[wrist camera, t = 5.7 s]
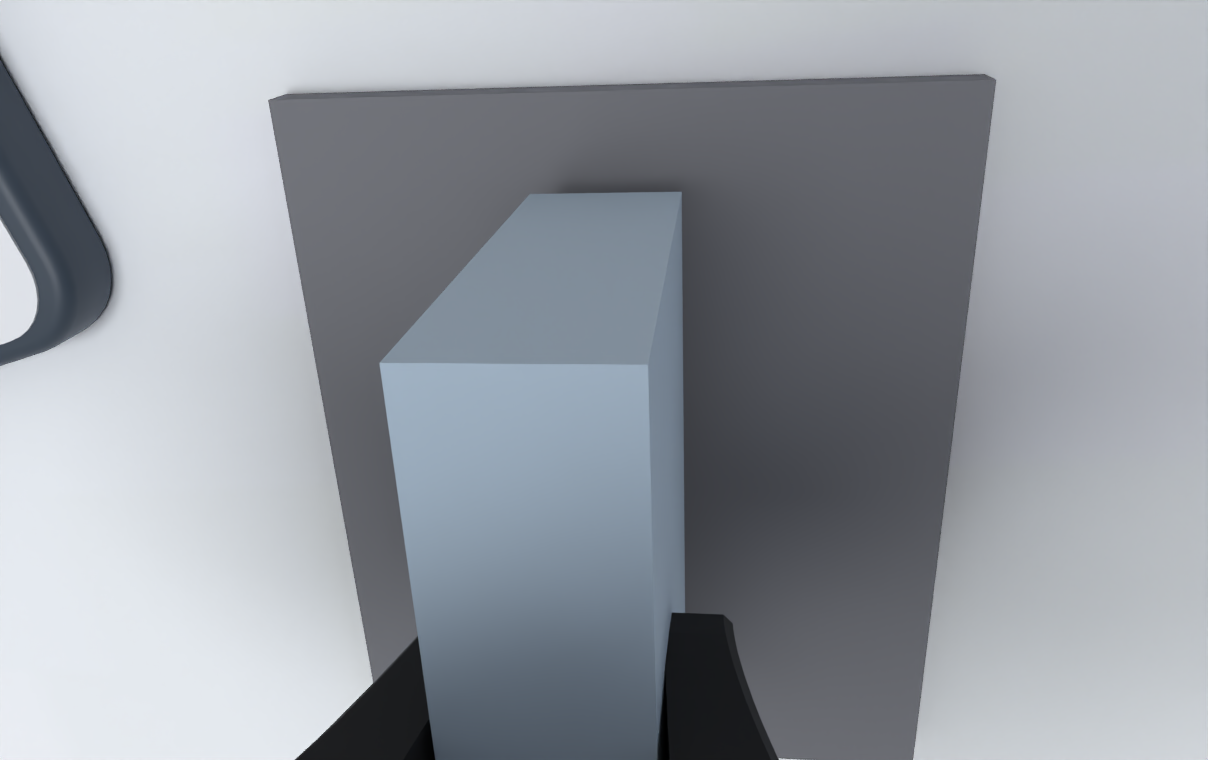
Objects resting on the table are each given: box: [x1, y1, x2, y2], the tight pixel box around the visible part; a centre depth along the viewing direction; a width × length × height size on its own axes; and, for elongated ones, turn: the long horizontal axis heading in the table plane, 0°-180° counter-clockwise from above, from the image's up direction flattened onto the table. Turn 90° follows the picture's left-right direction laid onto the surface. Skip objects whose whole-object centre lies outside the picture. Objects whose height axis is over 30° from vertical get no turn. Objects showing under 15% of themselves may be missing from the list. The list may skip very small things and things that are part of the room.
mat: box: [268, 74, 996, 760], centre depth 16 cm, size 10×12×1 cm
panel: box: [379, 192, 685, 760], centre depth 11 cm, size 2×9×6 cm, turn 3°
